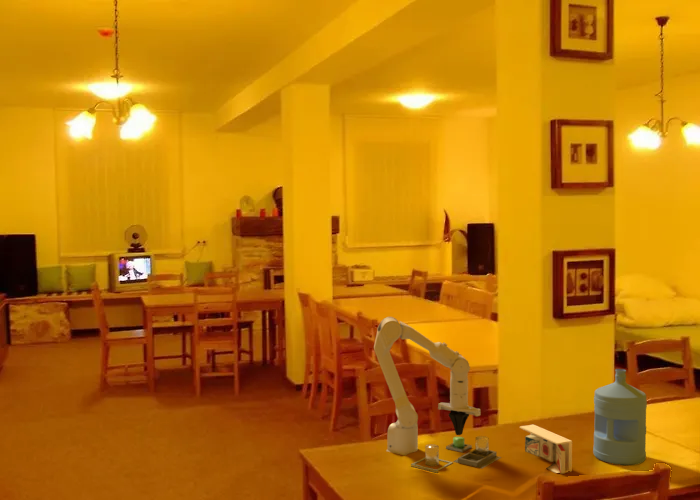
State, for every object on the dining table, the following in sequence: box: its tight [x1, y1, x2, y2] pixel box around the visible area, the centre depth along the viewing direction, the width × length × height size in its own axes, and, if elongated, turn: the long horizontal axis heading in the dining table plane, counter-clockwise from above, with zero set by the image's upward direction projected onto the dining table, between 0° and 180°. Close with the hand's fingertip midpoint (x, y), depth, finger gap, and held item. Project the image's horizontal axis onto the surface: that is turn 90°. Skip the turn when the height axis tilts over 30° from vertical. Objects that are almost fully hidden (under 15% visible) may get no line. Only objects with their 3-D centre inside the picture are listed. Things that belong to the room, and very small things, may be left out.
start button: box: [452, 436, 465, 449], centre depth 241 cm, size 4×4×3 cm
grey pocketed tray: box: [452, 448, 502, 469], centre depth 230 cm, size 10×13×3 cm
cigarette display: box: [519, 424, 573, 474], centre depth 229 cm, size 20×6×9 cm, turn 23°
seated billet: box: [475, 435, 490, 456], centre depth 232 cm, size 4×4×6 cm
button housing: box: [445, 442, 473, 453], centre depth 241 cm, size 6×6×2 cm
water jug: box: [592, 368, 648, 466], centre depth 234 cm, size 16×16×28 cm
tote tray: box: [410, 457, 454, 474], centre depth 226 cm, size 9×9×1 cm
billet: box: [424, 443, 440, 467], centre depth 226 cm, size 4×4×6 cm
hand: (459, 434), depth 240 cm, fingers closed
